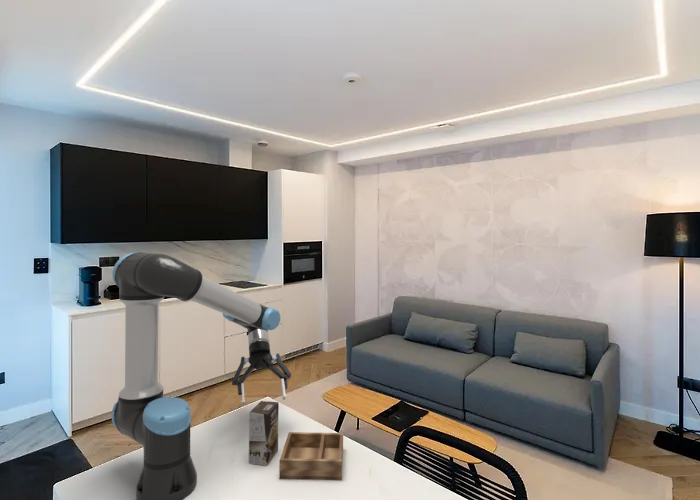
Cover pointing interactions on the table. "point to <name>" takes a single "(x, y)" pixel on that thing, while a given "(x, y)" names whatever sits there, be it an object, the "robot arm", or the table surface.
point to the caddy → (312, 456)
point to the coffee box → (263, 432)
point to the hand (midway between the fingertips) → (264, 401)
